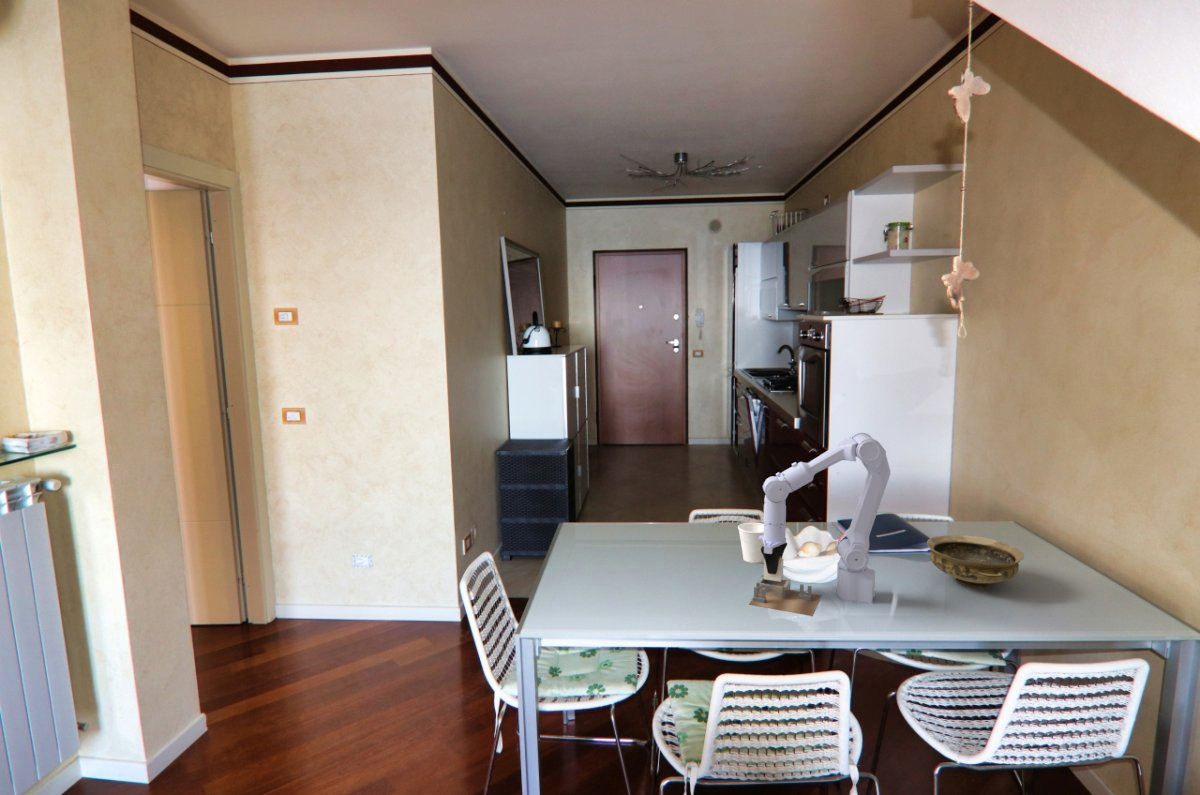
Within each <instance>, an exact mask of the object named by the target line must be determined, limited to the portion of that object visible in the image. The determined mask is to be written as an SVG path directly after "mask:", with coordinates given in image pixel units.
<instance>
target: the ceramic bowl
mask: <svg viewBox="0 0 1200 795" xmlns="http://www.w3.org/2000/svg"><path fill="white" fill-rule="evenodd" d="M926 546H927V547H928V548H929V549H930V553H929V554H930V556H929V558H930V561H931V562H932V564H933V565H934V566H935V568H937V569H938V570H939V571H941V572H943V573H944V574H946V575H948V576H950V577H953V578H954V579H955V582H956V583H958V584H961V585H963V586H965V587H966V586H967V587H971V588H985V587H988V586H989V584H996V583H1001V582H1006V581H1009V580H1011V579H1013V578H1014V577H1015V576H1016V575H1017V574H1018V572H1019V567H1020V566H1019V563H1020V562H1021V561H1023V560H1024V558H1025V554H1024V552H1023V551H1022V550H1020V549H1019V548H1017V547H1015V546H1013V545H1010V544H1009V543H1005V542H1003V541H999V540H995V539H992V538H988V537H983V536H974V535H960V534H959V535H957V534H955V535H953V534H945V535H937V536H933V537H930V538H928V540H927V541H926Z"/></svg>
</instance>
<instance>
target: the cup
mask: <svg viewBox="0 0 1200 795" xmlns="http://www.w3.org/2000/svg"><path fill="white" fill-rule="evenodd" d="M737 529H738V533H739V539H740V547H741V552H742V558H743V561H744V562H747V563H752V564H763V565H764V560H765V559H764V556H763V554H762V552H761V547H762V546H764V543H763V540H759V536H760V535H763V530H764V523H760V522H744V523H740V524H739V525H738V526H737Z"/></svg>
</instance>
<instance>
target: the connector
mask: <svg viewBox="0 0 1200 795" xmlns="http://www.w3.org/2000/svg"><path fill="white" fill-rule="evenodd" d="M763 576H764V579H767V580H773V581H779V582H781V580H782V579H784V559H783V558H782V559H781V556H780V559H779V563H778V569H777V573H776V574H769V573H768V571H767V567H766V562H765V560H764V563H763Z"/></svg>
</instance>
